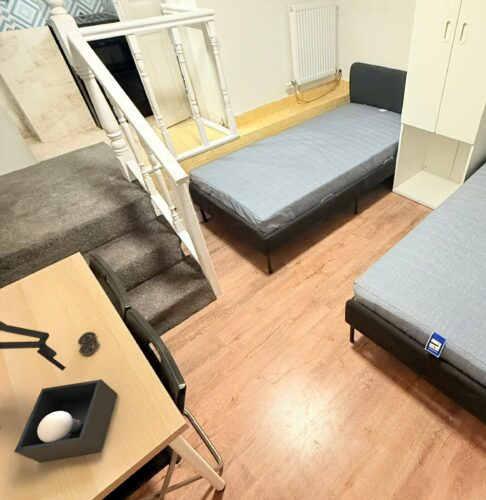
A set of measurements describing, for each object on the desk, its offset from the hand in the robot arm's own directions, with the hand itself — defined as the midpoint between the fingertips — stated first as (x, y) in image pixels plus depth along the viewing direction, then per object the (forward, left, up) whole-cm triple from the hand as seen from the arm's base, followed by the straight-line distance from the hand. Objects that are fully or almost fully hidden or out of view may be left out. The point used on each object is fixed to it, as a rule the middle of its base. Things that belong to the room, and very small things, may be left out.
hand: (33, 397), depth 69 cm
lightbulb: (+1, 0, -16) cm, 16 cm away
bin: (+1, 0, -17) cm, 17 cm away
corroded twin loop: (-5, +23, -17) cm, 29 cm away
